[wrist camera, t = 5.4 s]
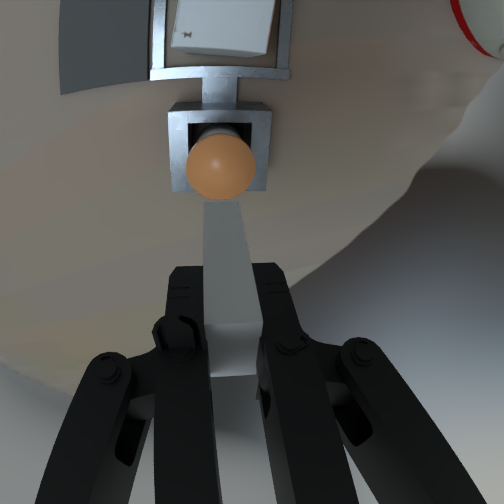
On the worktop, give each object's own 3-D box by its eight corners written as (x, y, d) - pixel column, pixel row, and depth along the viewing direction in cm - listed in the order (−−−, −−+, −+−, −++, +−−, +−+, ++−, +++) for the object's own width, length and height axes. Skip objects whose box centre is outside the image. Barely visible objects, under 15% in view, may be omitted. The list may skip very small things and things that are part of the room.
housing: (296, -97, 11) (311, -117, 7) (276, 169, 30) (288, 190, 26) (169, -101, 9) (163, -123, 5) (158, 172, 28) (149, 193, 24)
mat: (153, -34, 15) (152, -35, 14) (148, 79, 22) (147, 80, 22) (64, -13, 14) (62, -14, 13) (63, 94, 21) (60, 95, 21)
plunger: (248, 118, 23) (257, 135, 19) (245, 170, 26) (253, 199, 21) (190, 119, 23) (184, 136, 18) (191, 171, 25) (187, 200, 21)
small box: (247, 58, 22) (267, 58, 14) (185, 53, 21) (168, 50, 13) (260, -16, 18) (288, -53, 9) (197, -23, 17) (190, -64, 8)
